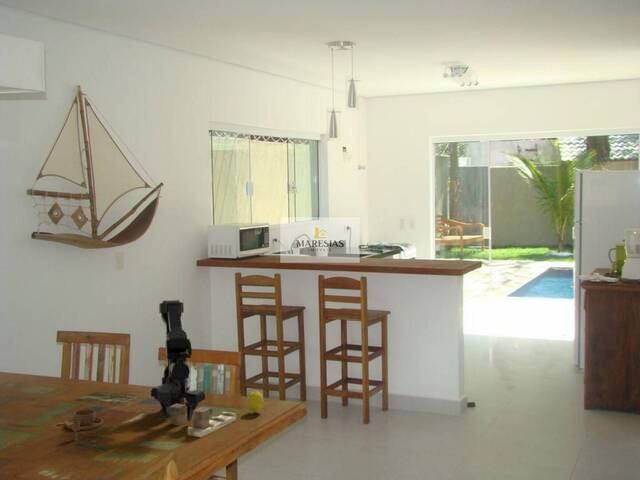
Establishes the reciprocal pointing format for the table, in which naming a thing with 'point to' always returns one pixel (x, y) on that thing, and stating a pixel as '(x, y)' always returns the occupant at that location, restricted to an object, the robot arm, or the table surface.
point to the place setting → (82, 421)
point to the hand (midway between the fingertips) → (177, 419)
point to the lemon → (255, 401)
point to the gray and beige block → (177, 414)
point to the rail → (216, 426)
